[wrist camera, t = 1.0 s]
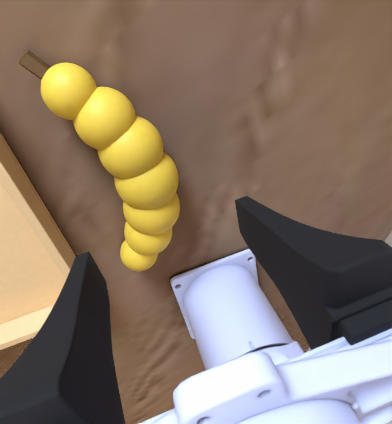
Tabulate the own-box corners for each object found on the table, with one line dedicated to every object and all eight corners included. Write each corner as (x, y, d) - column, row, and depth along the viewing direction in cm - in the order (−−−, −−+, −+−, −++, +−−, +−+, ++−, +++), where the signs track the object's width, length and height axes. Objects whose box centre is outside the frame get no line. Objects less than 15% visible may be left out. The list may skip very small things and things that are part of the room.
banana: (192, 236, 27) (207, 269, 24) (122, 262, 26) (128, 299, 23) (131, 20, 17) (143, 26, 14) (18, 50, 16) (5, 64, 13)
